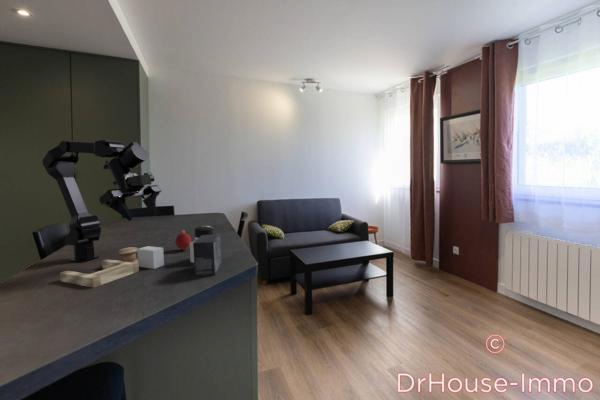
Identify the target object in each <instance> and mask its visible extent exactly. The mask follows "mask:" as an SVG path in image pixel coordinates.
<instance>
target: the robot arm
mask: <svg viewBox="0 0 600 400" xmlns="http://www.w3.org/2000/svg"><path fill="white" fill-rule="evenodd" d="M66 153H71V154H70V155H65V154H66ZM80 153H82V154H93V155H94V156H96V157H99V158H102V159H111V160H106V161H105V163H104V165H103V168H102V169H103V170H109V171H110V173H111V175H112V177H113V179H114V181H112V185H113V186H117V187H118V188H113V189H107V190H106V191H105V192H104V193H102V194H100V196H99V199H98V200H99V202H100V205H101V206H106V208H111V209H112V210H114V211H115V212H116V213H118V214H119V215H121V216H122V217H123V218H124V219H126V220H127V221H129V222H130V221H132V220H133V217H132V214H131V212H130V211H129V208H128V206H127V203H126V199H127V198H135V197H136V198H137V197H141V198H142V199H143V200H142V202H143V204H144V205H145V207H146V208H147V209H148V211H149V212H150V214H152V215H153V217H154V216H156V215H157V205H156V204H157V203H156V202H157V197H158V196H159V195H160V193H161V192H162V189H161V187H160V186H159V185H158V184H153V185H152V183H153V182H155V175H154V174H153V173H152V171H151V172H144V173H143V174H141V175H140V174H139V175H138V174H137V173H134V172H133V170H132V169H135V168H137V167H138V166H140V165H141V164H143V163H144V162H146V161H147V160H148V159H149V153H148V151H147V150H146V149H145V148H144V147H142V146H141V145H139V143H138V142H137V141H136V142H135V141H131V142H130V143H129V144H128V145H126V146H125V145H124V144H123V142H122V141H118V140H108V139H99V140H95V141H94V142H87V141H86V142H85V141H75V140H61V142H59V143H58V145H57V146H55V147H53V148H51V149H49V150H48V151H47V153H46V154H45V155H44V157H43V159H42V166H43V167H44V169H45V170H46V173H47V174H48V175H49V176H51V177H52V178H53V179H54V180H55V181H56V182H57V185H58V187H59V190H60V192H61V194H62V197H63V200H64V202H65V205H66V207H67V210H68V212H69V215H70V216H71V218H70V222H69V224H68V228H69V232H68V233H67V235H66V237H65V238H64V241H65V245H66V246H72V250H73V251H72V253H73V258H70V259H68V261H70V262H75V263H84V262H86V261H88V262H89V261H90V260H94V259H99V257H100V256H99V255H96V254H95V246H94V245H95V244H94V242H96V241H99V240H100V236H101V232H102V228H101V226H102V224H101V223H100V220H99V217H98V216H97V215H96V214H91V213H90V212H88V209H87V206H86V204H85V202H84V201H85V200H84V199H83V196H82V193H81V191H80V189H79V186H78V185H77V182H76V180H75V173H76V170H77V168H76V164H77V163H78V161H80V160H79V154H80ZM145 185H148V186H146V187H145Z"/></svg>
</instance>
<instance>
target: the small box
mask: <svg viewBox="0 0 600 400" xmlns="http://www.w3.org/2000/svg"><path fill="white" fill-rule="evenodd" d="M195 240H196V239H195ZM195 240H194V241H195ZM192 242H193V241H192ZM221 245H222V243H221V234H219V233H218V234H216V233H215V234H213V235H201V236H200V237H199V238H198V239H197V240H196V241H195V242H193V250H194V263H193V264H194V277H206V276H207V277H210V275H213V276H216V275H217V273H218V271H219V270H220V268H221V266H222V264H223V262H222V248H221Z"/></svg>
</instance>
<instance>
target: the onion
mask: <svg viewBox="0 0 600 400" xmlns="http://www.w3.org/2000/svg"><path fill="white" fill-rule="evenodd" d="M190 242H192V238H191V236H190V235H189V234H188V233H186V230H181V232H180V233H179V234H177V236H176V239H175V245H176V247H177V248H178V249H180V250H182V251H186V250H187V249H188V248H190Z"/></svg>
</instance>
